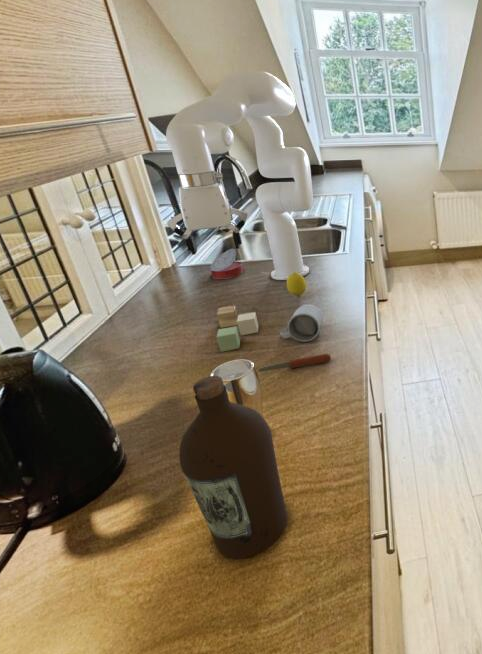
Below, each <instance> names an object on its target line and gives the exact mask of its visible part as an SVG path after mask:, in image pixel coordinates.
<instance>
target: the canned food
mask: <svg viewBox="0 0 482 654" xmlns="http://www.w3.org/2000/svg"><path fill="white" fill-rule="evenodd" d="M236 258H237V250H236V248H230V249H227V250H226V251H225V252H222V253H221V254H220V255H219V256H218V257H216V258H215V259H214V260H213V261H212V262H211V264H210V267H209V270H210V273H211V277H212V278H213V279H214V280H227V279H232V278H236V277H238V276H240V275H242V274H243V272H244V270H243V266H242V263H241V262H240V261H236Z"/></svg>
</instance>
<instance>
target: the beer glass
mask: <svg viewBox="0 0 482 654" xmlns="http://www.w3.org/2000/svg"><path fill="white" fill-rule="evenodd" d="M257 372H258V371H257V370H256V367H255V363H254V362H253V361H252V360H249V359H247V358H246V359H245V358H241V359H239V358H238V359H233V360H228V361H227V362H223V363H222V364H220V365H218V366H216V368H214V369H213V370H212V371H211V373H210V376H219V377H221V378H222V380H223V385H224V386H225V387H226V390H227V394H228V398H229V401H230V402H233V403H236V404H240V405H243V406H246V407H249V408H252V409H254V410H255V411H257V412H258V413H259V414H260V415H261V416H262V417H263V418H264V407H263V405H264V404H263V403H264V402H263V390H262V386H261V382H260V378H259V375H258V373H257ZM264 419H265V418H264Z"/></svg>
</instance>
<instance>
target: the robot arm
mask: <svg viewBox="0 0 482 654" xmlns="http://www.w3.org/2000/svg"><path fill="white" fill-rule="evenodd" d="M295 108H296V100H295V97H294V93H293V92H292V90H291V89H290V88H289V87H288V86H287V85H286V84H285V83H284V82H283V81H281V80H280V79H279V78H278V77H276V76H274V75H273V74H272V73H269V72H268V71H264V70H257V71H255V70H254V71H235V72H231V73H228V74H227V75H226V76H224V77H223V79H222V80H221V81H220V83H219V84H218V86H217V87H216V88H215V90H214V91H213V92H212V94H211V95H209V96H207V97H205V98H202V99H200V100H198V101H196V102H194V103H192V104H190V105H187V106H186V107H184V108H182V109H180V110H179V111H178V112H176V114H175V115H174V116H173V118H172V119H171V120H170V122H169V123H168V125H167V127H166V132H165V139H166V143H167V145H168V146H169V148H170V150H171V153H172V158H173V161H174V164H175V167H176V172H177V175H178V179H179V183H180V187H178V199H179V204H180V210H181V212H180V213H178V214H176V215H175V216H174V217H172V218H170V219H169V220H168V221H167V222H166V225H167V226H168V227H169V228H170V229H171V230H172V231H173V232H174V233H175V234H176V235H178V236H180V237H182V238H183V239H184V240H185V244H186V247H187V250H188V252H191V255H192V256H194V255H196V254H197V252H198V248H197V245H196V241H195V237H194V236H193V235H192V233H193V231H201V230H210V229H217V228H224V227H225V228H226V227H227V228H228V229H229V230H231V231H232V239H233V242H234V246H235V249H237V250H239V249H240V247H241V245H243V241H242V238H241V234H240V231H241V230H242V228H244V226H245V224H246V221H247V218H248V216H249V215H248V212H247V211H244V210H241V209H238V208H235V207H232V206H231V205H230V201H229V199H228V195H227V192H226V191H225V187H224V186H223V184H222V183H220V182H219V181H220V180H223V179H224V175H223V173H222V172H221V173H220V172H217V171H216V170H215V166H214V162H213V158H212V155H221V154H225V153H227V152H229V151H230V150H231V149H232V148H233V146H234V141H235V137H234V133H233V131H232V129H231V128H230V127H231V126H234V125H237V124H238V123H239V122H241V121H242V120H243V118H244V119H245V120H246V121H247V123H248V125H249V127H250V128H251V130H252V133H253V137H254V144H255V145H254V146H255V154H256V163H257V168H258V172H259V173H260V175H261V176H262V177H264V178H267V179H287V178H288V179H290V178H292V179H293V180H294V181H275V182H266V183H263V184H262V183H261V185H258V187H257V188H256V190H255V201H256V203H257V206H258V208H259V210H260V213H261V216H262V218H263V222H264V226H265V232H266V234H267V240H268V245H269V248H270V249H269V250H270V254H271V258H272V263H273V269H274V270H272V271H271V272H270V277H271V279H273V280H275V281H276V280H277V281H287V278H288V277H289V276H290V275H291V274H293V273H294V272H295V273H298V274H300V275H302V276H303V277H305V276H306V275H308V274H309V273H310V268H309V266H307V265H305V264H304V261H303V255H302V249H301V244H300V239H299V233H298V228H297V223H296V222H295V220H294V218H293V217H292V216H291V215H290V213H293V212H307V211H309V210H311V209H312V207H313V204H314V193H313V181H312V169H311V161H310V158H309V155H308V153H307V151H305V149H304V148H302V147H299V146H285V142H284V133H283V131H282V129H281V127H280V126H279V125H278V123H277V122H276V121H275V120H274V119H273V118H272V117H284V116H286V117H287V116H290V115H291V114H293V112H294V111H295ZM218 182H219V183H218ZM233 215H235V216H238V217H240V219H239V221H238V222H237V223H236V222H234V221H233V220H234V216H233ZM181 220H183V224H184V227H185V229H183V228H181V227H180V226H179V225H178V224H177V223H178V222H180V221H181Z"/></svg>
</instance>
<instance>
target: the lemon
mask: <svg viewBox="0 0 482 654" xmlns="http://www.w3.org/2000/svg"><path fill="white" fill-rule="evenodd" d="M286 289H287V291H288V292H289V293H290V295H292V296H295V297H298V298H299V297H301V295H303V294H305V292H306V290H307V282H306V279H305V276H302V275H300V274H298V273H295V272H294V273H293V274H291V275H290V276H289V277H288V278H287V280H286Z"/></svg>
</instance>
